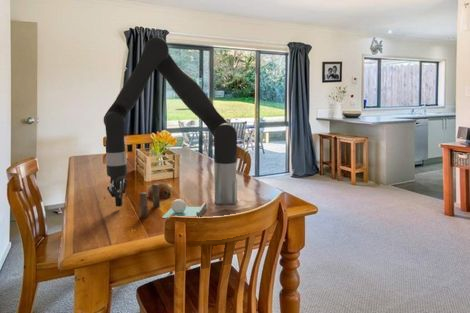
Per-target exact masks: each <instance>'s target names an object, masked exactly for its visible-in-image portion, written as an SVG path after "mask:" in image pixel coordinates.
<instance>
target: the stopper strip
mask: <svg viewBox="0 0 470 313" xmlns="http://www.w3.org/2000/svg"><path fill="white" fill-rule="evenodd" d="M199 207H200V208H199V210H198V211H197V212H196V216H198V217H199V216H201V217H202V216H203V214H204V213H205V211H206V210H207V209H206V207H207V202H203V203H202V204H201V205H200V206H199ZM205 209H206V210H205Z"/></svg>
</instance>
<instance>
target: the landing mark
mask: <svg viewBox="0 0 470 313" xmlns="http://www.w3.org/2000/svg"><path fill="white" fill-rule="evenodd" d="M200 207H201V206H188V205H186V209H185V211H184V212H182V213H175V212H174V211H173V210H172V207H171V208H169V210H168V211H167V212H165V214H163V215H162V216H161V219H168V218H167V217H170V216H175V215H177V216H196V212H197V211H198V210H199V208H200ZM207 209H208V207H207V206H206V209H205V211H206V210H207Z"/></svg>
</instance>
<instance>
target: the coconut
mask: <svg viewBox="0 0 470 313" xmlns="http://www.w3.org/2000/svg"><path fill="white" fill-rule="evenodd" d="M155 184H159V200H162V199H163V200H164V199H167V198H169V197H171V195H172V189H171V187H170V186H169V185H168V184H167V183H165V182H160V181H158V182H156V183H155ZM147 196H148V197H149V198H150V199H153V190H152V185H151V186H150V187H149V188H148V190H147Z"/></svg>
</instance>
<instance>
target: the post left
mask: <svg viewBox="0 0 470 313" xmlns="http://www.w3.org/2000/svg"><path fill="white" fill-rule="evenodd" d="M139 206H140V208H139V209H140V210H139V211H140V217H141V218H143V219H146V218H148V217H149V215H148V212H149V211H148V210H149V209H148V192H144V191H143V192H139Z"/></svg>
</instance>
